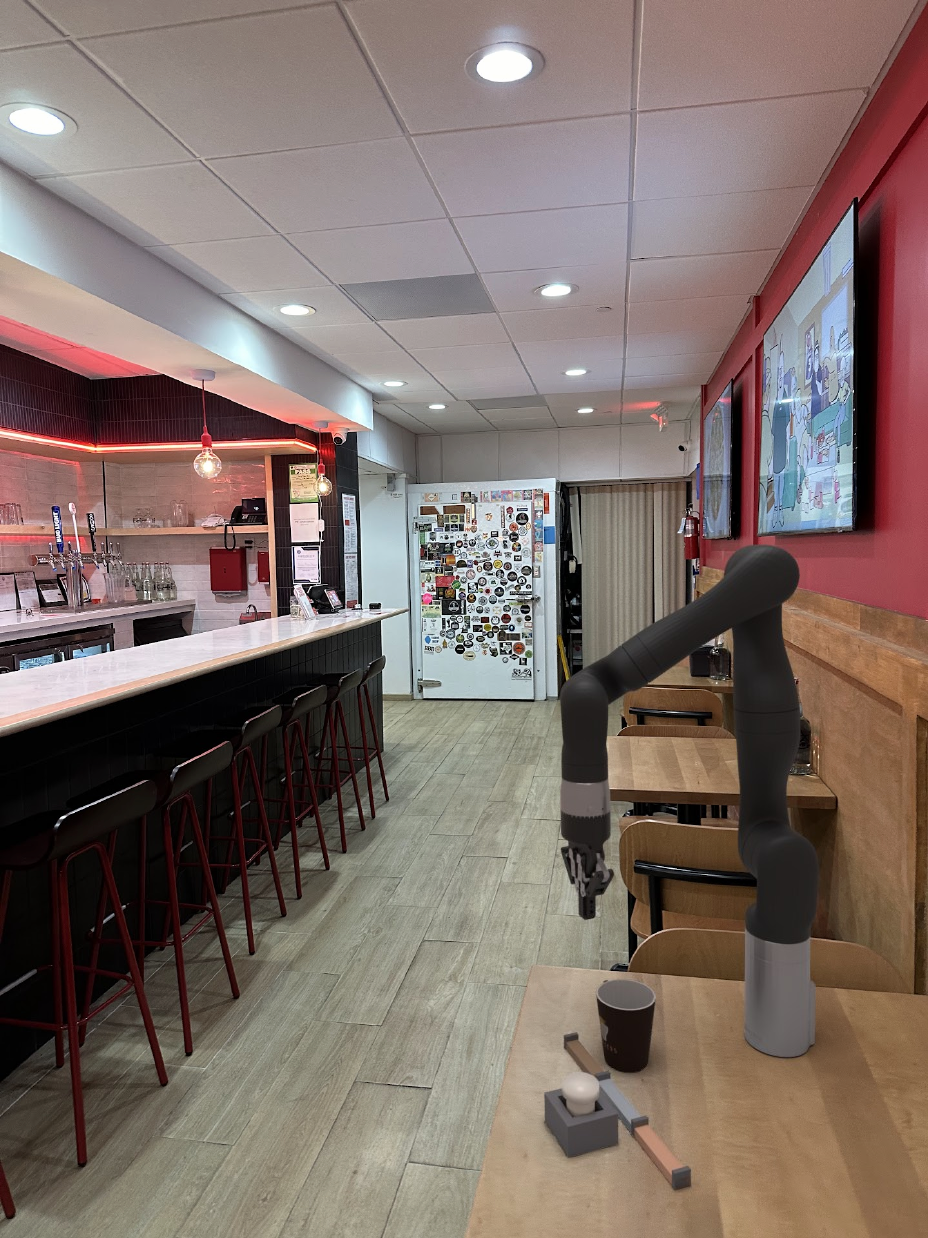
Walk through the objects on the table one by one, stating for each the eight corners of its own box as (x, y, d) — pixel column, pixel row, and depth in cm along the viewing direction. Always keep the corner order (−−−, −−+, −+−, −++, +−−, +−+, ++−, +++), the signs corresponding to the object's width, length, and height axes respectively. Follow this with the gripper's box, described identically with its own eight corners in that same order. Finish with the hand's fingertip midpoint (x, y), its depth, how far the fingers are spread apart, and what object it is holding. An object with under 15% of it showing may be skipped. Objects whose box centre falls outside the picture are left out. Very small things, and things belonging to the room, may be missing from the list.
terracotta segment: (646, 1130, 107) (646, 1115, 107) (690, 1185, 97) (690, 1169, 97) (631, 1134, 106) (631, 1119, 106) (674, 1190, 97) (674, 1174, 97)
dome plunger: (588, 1112, 110) (588, 1068, 109) (606, 1135, 105) (606, 1090, 105) (555, 1120, 108) (555, 1076, 108) (572, 1145, 104) (571, 1099, 103)
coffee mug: (656, 1081, 117) (656, 1013, 116) (595, 1074, 119) (594, 1007, 118) (654, 1034, 128) (654, 972, 127) (598, 1029, 130) (598, 967, 129)
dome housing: (592, 1109, 111) (592, 1081, 111) (618, 1144, 104) (618, 1114, 104) (544, 1121, 109) (544, 1092, 109) (568, 1158, 102) (567, 1127, 102)
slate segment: (608, 1084, 116) (608, 1070, 116) (646, 1130, 107) (646, 1115, 107) (594, 1087, 116) (594, 1074, 115) (631, 1134, 106) (631, 1119, 106)
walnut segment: (576, 1045, 126) (576, 1032, 126) (608, 1084, 116) (608, 1070, 116) (563, 1048, 125) (563, 1035, 125) (594, 1087, 116) (594, 1074, 115)
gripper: (630, 815, 121) (631, 930, 122) (586, 792, 133) (587, 897, 134) (584, 823, 118) (586, 940, 119) (543, 798, 131) (546, 905, 132)
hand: (587, 917), depth 127 cm, fingers closed
